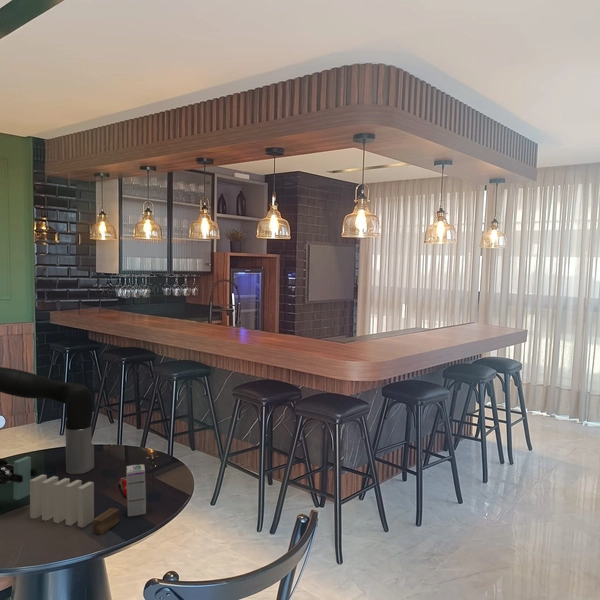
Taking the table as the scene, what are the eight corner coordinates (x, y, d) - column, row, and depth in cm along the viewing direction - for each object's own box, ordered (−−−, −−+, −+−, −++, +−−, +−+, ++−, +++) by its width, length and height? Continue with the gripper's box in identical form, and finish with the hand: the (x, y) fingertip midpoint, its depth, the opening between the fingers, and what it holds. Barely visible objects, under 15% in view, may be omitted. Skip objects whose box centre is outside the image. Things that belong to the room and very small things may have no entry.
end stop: (93, 532, 149) (93, 519, 149) (110, 520, 157) (110, 507, 157) (101, 534, 148) (101, 521, 148) (119, 521, 156) (118, 509, 156)
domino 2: (30, 518, 158) (29, 480, 157) (42, 510, 163) (42, 474, 162) (34, 518, 157) (34, 481, 157) (47, 511, 162) (46, 475, 162)
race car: (140, 497, 174) (140, 486, 174) (124, 500, 172) (124, 489, 171) (133, 483, 186) (133, 472, 185) (117, 485, 183) (117, 475, 183)
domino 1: (13, 499, 159) (13, 461, 159) (26, 492, 164) (26, 456, 163) (18, 500, 159) (18, 462, 158) (30, 493, 163) (30, 457, 163)
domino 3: (41, 520, 157) (41, 482, 156) (54, 513, 161) (53, 476, 161) (46, 521, 156) (46, 483, 155) (58, 513, 161) (58, 476, 160)
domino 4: (53, 522, 155) (53, 484, 155) (65, 515, 160) (65, 477, 159) (58, 523, 155) (58, 484, 154) (70, 515, 159) (69, 478, 159)
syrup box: (146, 514, 161) (146, 469, 160) (126, 517, 159) (126, 472, 158) (145, 506, 166) (145, 463, 166) (126, 509, 164) (126, 465, 164)
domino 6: (77, 526, 153) (77, 488, 152) (89, 519, 157) (88, 481, 157) (82, 527, 152) (82, 488, 152) (94, 520, 157) (93, 482, 156)
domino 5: (65, 524, 154) (65, 486, 153) (77, 517, 159) (76, 479, 158) (70, 525, 153) (70, 486, 153) (82, 518, 158) (81, 480, 158)
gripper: (-33, 465, 158) (10, 472, 153) (6, 450, 172) (46, 456, 167) (-33, 488, 159) (10, 496, 154) (6, 472, 172) (46, 479, 167)
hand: (29, 475), depth 160 cm, fingers closed on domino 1, 5 cm apart
